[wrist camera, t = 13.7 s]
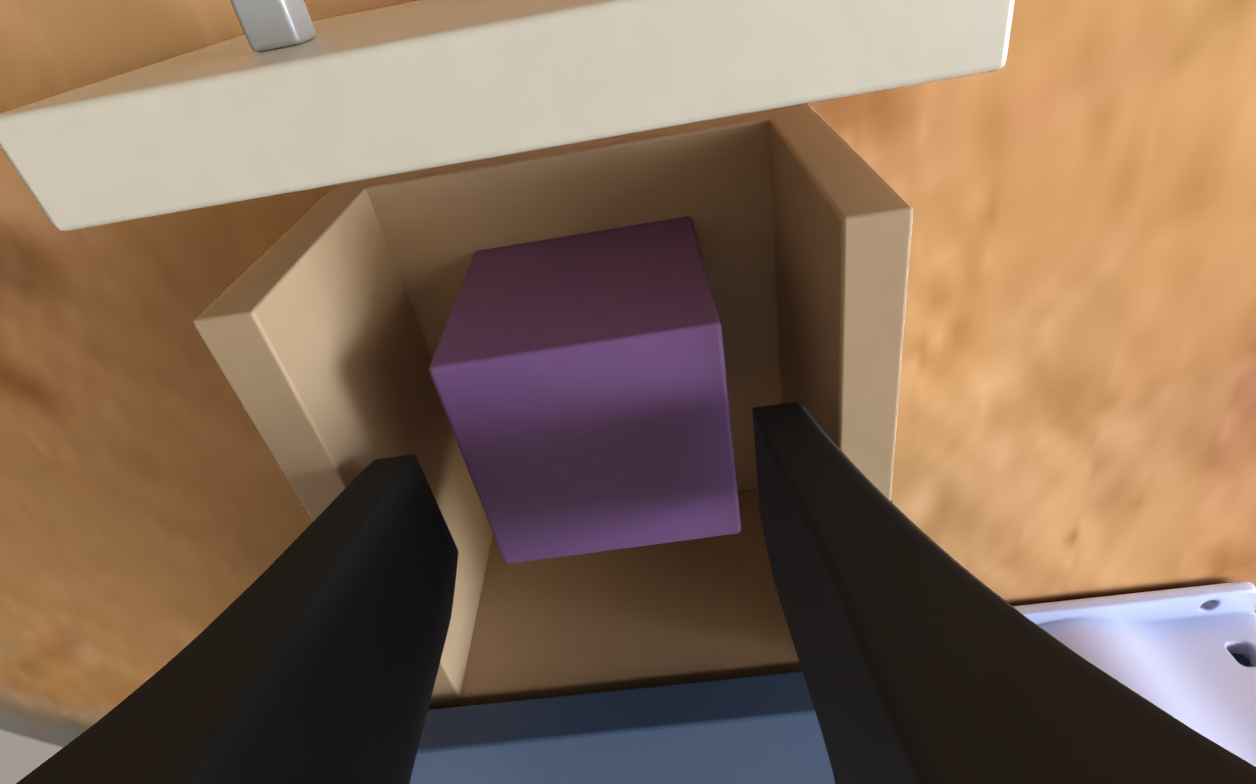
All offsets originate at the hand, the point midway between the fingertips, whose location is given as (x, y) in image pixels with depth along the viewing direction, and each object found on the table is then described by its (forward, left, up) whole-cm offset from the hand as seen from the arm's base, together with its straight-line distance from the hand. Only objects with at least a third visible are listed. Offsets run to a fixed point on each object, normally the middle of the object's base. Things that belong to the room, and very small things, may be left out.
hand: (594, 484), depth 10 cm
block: (0, 0, -4) cm, 4 cm away
